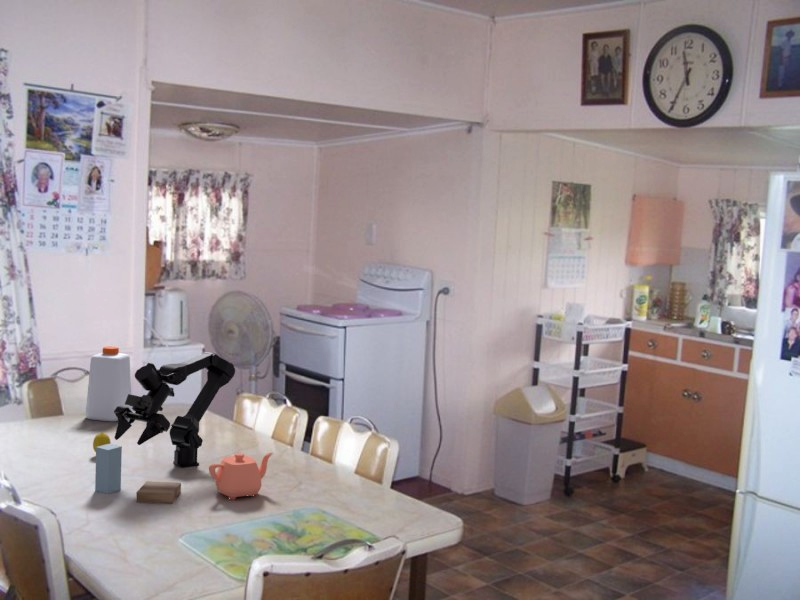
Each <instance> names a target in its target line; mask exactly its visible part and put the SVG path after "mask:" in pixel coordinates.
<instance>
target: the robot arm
mask: <svg viewBox="0 0 800 600" xmlns="http://www.w3.org/2000/svg"><path fill="white" fill-rule="evenodd" d="M204 369H206V371H207V372H206V375H207V376H206V379H207V380H206V382H205V384H204V385H203V387H202V389H201V390H200V391H199V393H198V395H197V396H196V398H195V400H194V401H193V403H192V404H191V406H190V407H189V409H188V410H187V413H186V414H185V415H183V416H181V415H177V416H176V417H175V419H174V421H173V423H172V424H171V422H170V421H169V420H168V418H167V417H166V416H165V415H164V414H162V413H158V412H162V411H163V410H164V407H163V405H164V403H165V402H166V401H167V398H168V397H173V398H174V397H175V390H174V387H172V386H171V387H170V386H169V385H174V386H179V385H181V384H182V383H184V382H185V381H186V380H187V378H188V377H189V376H190V375H192V374H195V373H197V372H200V371H201V370H204ZM235 374H236V368H235V366H234V364H233V363H232V362H229V361H228V360H226V359H224V358H222V357H220V356H219V354H216V353H215V352H209V351H204V352H202V353H201V354H199V355H197V356H194V357H191V358H190V359H187V360H184V361H183V362H182V361H181V362H179V363H168V364H163V365H161V366H160V367H159V369H157V367H156V366H155V364H154V363H152V362H147V363H146V365H143V366H142V367H141V366H140V367H139V369H137V370H136V371H135V373H134V378H135V380H136V381H137V382H138V383H139V385H140V386H141V387H142V388H143V389H144V390H145V391H147V394H143V395H142V396H140V395H135V394H131V395H130V394H128V396H127V399H126V402H125V405H130V406H132V411H131V410H130V409H129V408H128V407H123V406H118V407H117V408H116V409H115V411H114V413H115V414H116V417H117V418H118V421H117V426H116V431H115V433H114V434H115V435H114V440H115V441H117V440H119V439H120V438H121V437H122V436H123V435H124V434H125V433H126V432H127V431H128V430H129V429H130V428H131V427H132V424H133V423H134V422H135V421H138V422H139V421H140V422H145V423H146V425H145V428H144V430H143V431H142V432H141V435H140V436H139V438H138V439H137V442H136V444H137V445H138V446H140V445H142V444H143V443H146V442H147V441H149V440H151V439H153V438H154V437H156V436H158V435H159V434H163V433H164V432H165V433H166V432H167V433H168V430H169V429H170V430H169V438H170V441H171V445H172V446H175V450H174V455H173V459H174V460H173V464H175V465H176V466H177V467H180V468H186V467H194V466H199V465H200V462H198V451H199V450H198V449H199V448H201V447H202V445H203V438H202V437H201V436H200V434H199V432H200V421H201V420H202V419H203V417H204V415H205V413H206V412H207V410H208V409H209V407H210V405H211V404H212V402H213V400H214V398H215V397H216V395H217V394H218V392H219V390H220V389H221V388H222V387H224V386H226V385H227V384H229V383H230V382H231V380H233V378H234V376H235ZM133 411H134V412H133Z"/></svg>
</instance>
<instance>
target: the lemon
mask: <svg viewBox="0 0 800 600" xmlns="http://www.w3.org/2000/svg"><path fill="white" fill-rule="evenodd" d="M106 444H112V443H111V438H110V436H109V435H108V434H106V433H104V432H100V433H98V434H96V435H95V437H94V438H93V442H92V447H93V450H94V452H95V453H96V447H98V446H102V445H106Z"/></svg>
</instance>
